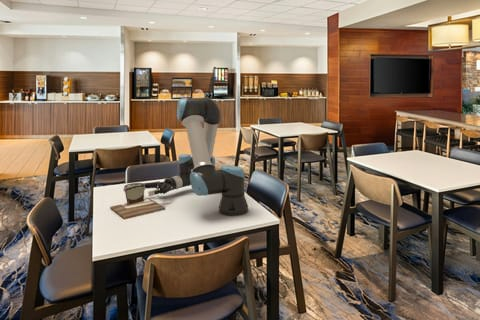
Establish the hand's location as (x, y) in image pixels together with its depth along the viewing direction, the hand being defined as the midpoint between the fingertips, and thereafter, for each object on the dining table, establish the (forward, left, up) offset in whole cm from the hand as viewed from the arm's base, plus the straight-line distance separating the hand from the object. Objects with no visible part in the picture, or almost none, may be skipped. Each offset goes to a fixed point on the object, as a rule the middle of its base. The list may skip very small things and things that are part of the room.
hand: (141, 191), depth 196 cm
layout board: (-6, +5, -7) cm, 11 cm away
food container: (+3, +4, -6) cm, 8 cm away
